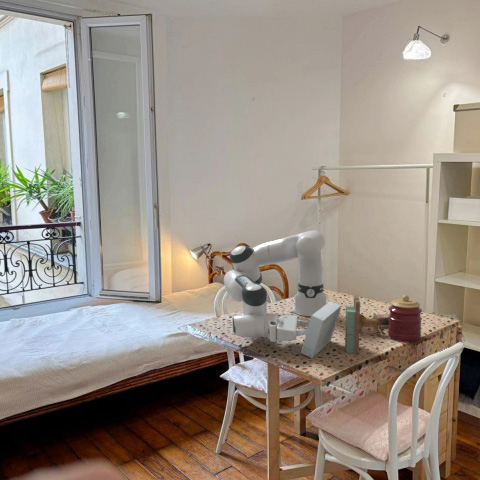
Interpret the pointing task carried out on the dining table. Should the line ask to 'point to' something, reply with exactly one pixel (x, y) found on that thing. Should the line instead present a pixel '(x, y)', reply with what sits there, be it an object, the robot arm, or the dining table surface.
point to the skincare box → (320, 329)
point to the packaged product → (382, 320)
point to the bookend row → (352, 327)
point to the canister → (405, 320)
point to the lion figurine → (370, 324)
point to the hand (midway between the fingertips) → (308, 327)
